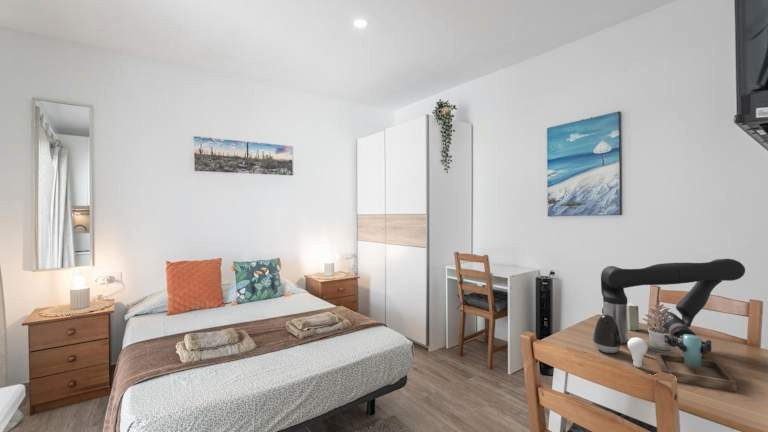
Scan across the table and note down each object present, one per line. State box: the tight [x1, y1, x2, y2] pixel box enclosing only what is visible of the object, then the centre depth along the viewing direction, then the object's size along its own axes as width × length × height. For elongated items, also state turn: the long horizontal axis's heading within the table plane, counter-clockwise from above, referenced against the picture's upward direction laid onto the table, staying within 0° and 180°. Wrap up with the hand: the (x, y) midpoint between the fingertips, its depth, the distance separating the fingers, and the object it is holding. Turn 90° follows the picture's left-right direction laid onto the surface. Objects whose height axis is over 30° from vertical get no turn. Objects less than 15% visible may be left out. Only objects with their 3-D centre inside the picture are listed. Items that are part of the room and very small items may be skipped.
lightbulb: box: [627, 337, 649, 369], centre depth 130 cm, size 6×6×11 cm
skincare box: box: [627, 302, 640, 331], centre depth 174 cm, size 6×4×12 cm
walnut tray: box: [655, 352, 737, 393], centre depth 124 cm, size 18×18×3 cm
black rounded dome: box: [592, 314, 623, 354], centre depth 146 cm, size 10×10×15 cm
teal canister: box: [683, 334, 703, 367], centre depth 124 cm, size 5×5×10 cm
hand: (694, 350), depth 122 cm, fingers closed on teal canister, 4 cm apart
